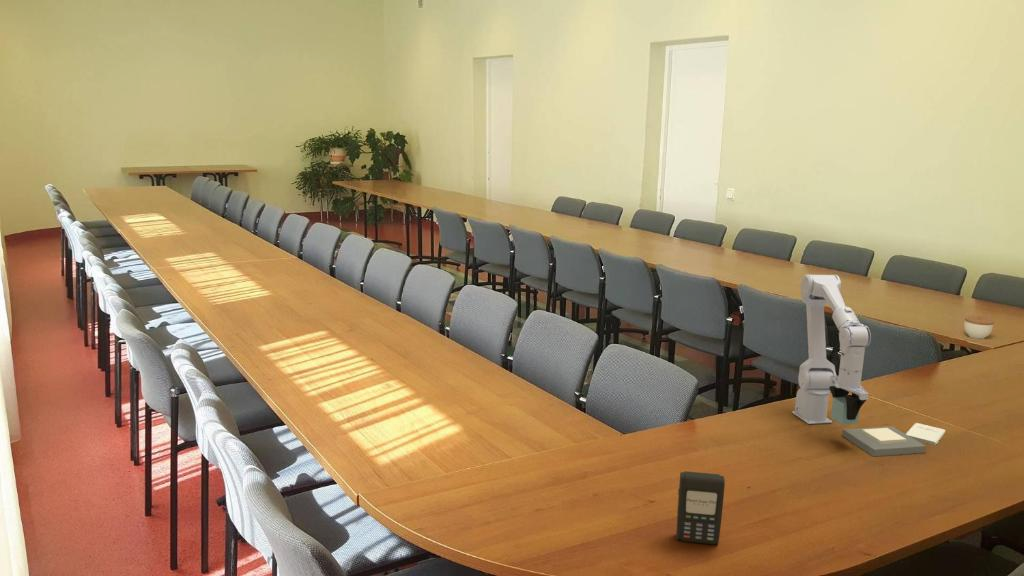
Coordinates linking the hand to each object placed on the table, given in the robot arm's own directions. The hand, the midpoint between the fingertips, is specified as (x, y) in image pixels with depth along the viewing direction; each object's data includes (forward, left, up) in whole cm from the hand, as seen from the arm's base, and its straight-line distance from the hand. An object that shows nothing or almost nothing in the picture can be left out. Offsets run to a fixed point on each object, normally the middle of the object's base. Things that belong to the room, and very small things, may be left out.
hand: (845, 415), depth 216 cm
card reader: (+41, -62, -9) cm, 75 cm away
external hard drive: (-2, +29, -9) cm, 30 cm away
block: (0, 0, -2) cm, 2 cm away
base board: (+2, +12, -9) cm, 15 cm away
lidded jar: (-93, +128, -9) cm, 159 cm away
